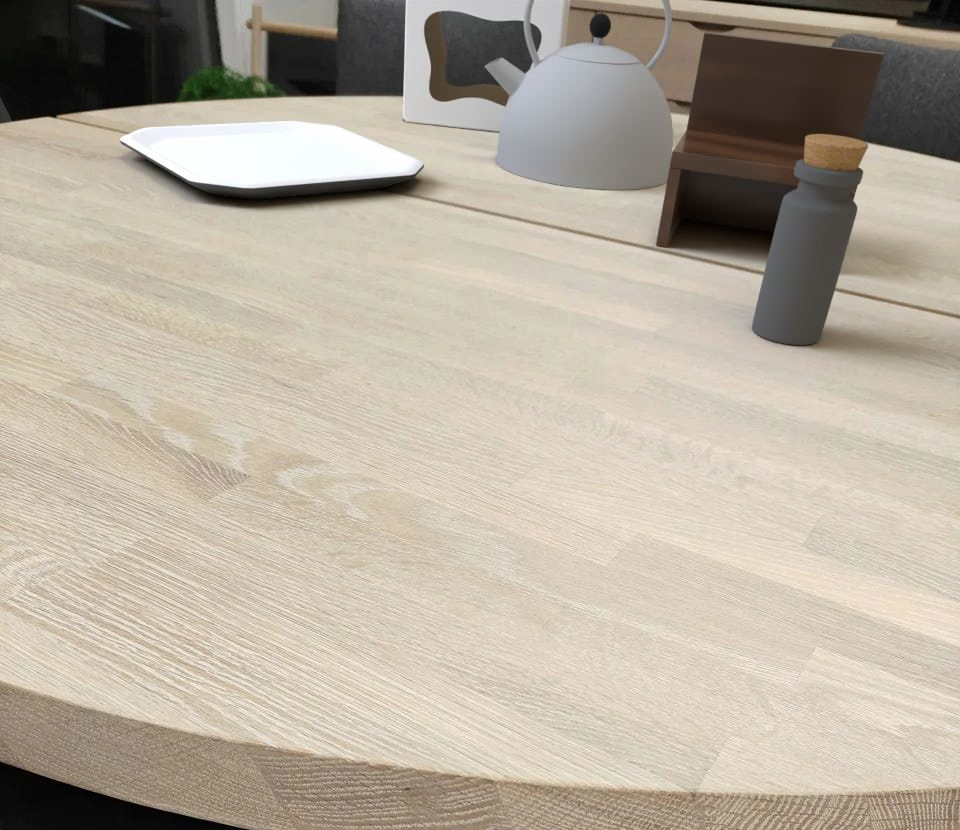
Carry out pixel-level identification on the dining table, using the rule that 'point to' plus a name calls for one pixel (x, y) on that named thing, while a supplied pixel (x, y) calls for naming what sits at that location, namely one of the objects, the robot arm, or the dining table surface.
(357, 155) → the plate
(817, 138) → the bottle
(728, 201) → the brown wooden stand
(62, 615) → the dining table surface
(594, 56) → the kettle
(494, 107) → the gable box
